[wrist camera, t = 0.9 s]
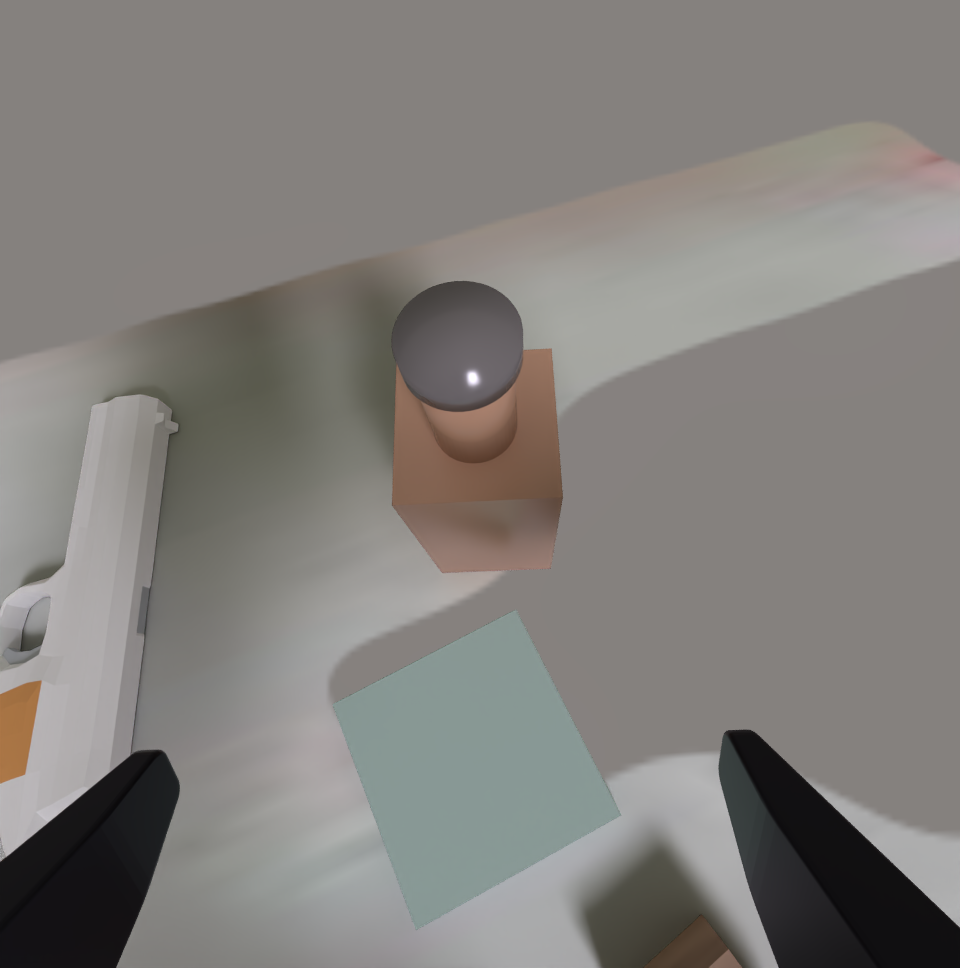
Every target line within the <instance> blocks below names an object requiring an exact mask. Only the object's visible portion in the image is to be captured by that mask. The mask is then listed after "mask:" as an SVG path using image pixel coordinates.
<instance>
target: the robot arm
mask: <svg viewBox="0 0 960 968" xmlns="http://www.w3.org/2000/svg"><path fill="white" fill-rule="evenodd" d="M719 777H720V782H721V786H722V790H723V794H724V797H725V801H726V805H727V808H728V812H729V816H730V820H731V823H732V827H733V831H734V834H735V838H736V842H737V846H738V849H739V853H740V857H741V860H742V864H743V868H744V871H745V875H746V878H747V882H748V885H749V889H750V892H751V895H752V897H753V900H754V903H755V906H756V909H757V911H758V914H759V917H760V919H761V922H762V925H763V927H764V930H765V933H766V935H767V938H768V941H769V943H770V946H771V949H772V951H773V954H774V956H775V959H776V962H777V964H778V967H779V968H960V927H959V926H958V925H957V924H956V923H954V922H953V921H952V920H951V919H950V918H949V917H948V916H947V915H946V914H945V913H944V912H943V911H942V910H941V909H940V908H939V907H938V906H937V905H936V904H935V903H934V902H932V901H931V900H930V899H929V898H928V897H927V896H926V895H925V894H924V893H923V892H922V891H921V890H920V889H919V888H918V887H917V886H916V885H915V884H914V883H913V882H912V881H911V880H909V879H908V878H907V877H906V876H905V875H904V874H903V873H902V872H901V871H900V870H899V869H898V868H897V867H896V866H895V865H894V864H893V863H892V862H891V861H890V860H889V859H887V858H886V857H885V856H884V855H883V854H882V853H881V852H880V851H879V850H878V849H877V848H876V847H875V846H874V845H873V844H872V843H871V842H870V841H869V840H868V839H867V838H866V837H864V836H863V835H862V834H861V833H860V832H859V831H858V830H857V829H856V828H855V827H854V826H853V825H852V824H851V823H850V822H849V821H848V820H847V819H846V818H845V817H844V816H842V815H841V814H840V813H839V812H838V811H837V810H836V809H835V808H834V807H833V806H832V805H831V804H830V803H829V802H828V801H827V800H826V799H825V798H824V797H823V796H822V795H821V794H819V793H818V792H817V791H816V790H815V789H814V788H813V787H812V786H811V785H810V784H809V783H808V782H807V781H806V780H805V779H804V778H803V777H802V776H801V775H800V774H799V773H797V772H796V771H795V770H794V769H793V768H792V767H791V766H790V765H789V764H788V763H787V762H786V761H785V760H784V759H783V758H782V757H781V756H780V755H779V754H778V753H777V752H776V751H774V750H773V749H772V748H771V747H770V746H769V745H768V744H767V743H766V742H765V741H764V740H763V739H762V738H761V737H760V736H759V735H757V734H756V733H755V732H753V731H751V730H728V731H726V732H725V733H724V735H723V739H722V746H721V753H720V759H719ZM179 792H180V785H179V780H178V778H177V776H176V774H175V772H174V769H173V767H172V765H171V763H170V761H169V759H168V757H167V755H166V753H165V752H163V751H162V750H141V751H137V752H135V753H133V754H132V755H130V756H129V757H128V758H126V759H125V760H124V761H123V762H122V763H120V764H119V765H118V766H117V767H115V768H114V769H113V770H112V771H111V772H109V773H108V774H107V775H106V776H104V777H103V778H102V779H101V780H100V781H98V782H97V783H96V784H95V785H93V786H92V787H91V788H90V789H89V790H87V791H86V792H85V793H84V794H82V795H81V796H80V797H79V798H78V799H76V800H75V801H74V802H73V803H71V804H70V805H69V806H68V807H67V808H65V809H64V810H63V811H62V812H60V813H59V814H58V815H57V816H56V817H54V818H53V819H52V820H51V821H49V822H48V823H47V824H46V825H45V826H43V827H42V828H41V829H40V830H38V831H37V832H36V833H35V834H34V835H32V836H31V837H30V838H29V839H27V840H26V841H25V842H24V843H23V844H21V845H20V846H19V847H18V848H16V849H15V850H14V851H13V852H12V853H10V854H9V855H8V856H7V857H6V858H4V859H3V860H2V861H1V862H0V968H116V966H117V964H118V962H119V959H120V957H121V955H122V952H123V950H124V948H125V945H126V943H127V941H128V938H129V936H130V934H131V931H132V929H133V927H134V924H135V922H136V920H137V917H138V915H139V912H140V910H141V907H142V905H143V902H144V900H145V897H146V894H147V892H148V889H149V886H150V883H151V880H152V877H153V874H154V871H155V868H156V865H157V862H158V859H159V856H160V853H161V850H162V847H163V843H164V840H165V837H166V834H167V831H168V828H169V825H170V822H171V819H172V816H173V813H174V810H175V807H176V804H177V801H178V797H179Z"/></svg>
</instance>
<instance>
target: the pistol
mask: <svg viewBox="0 0 960 968" xmlns="http://www.w3.org/2000/svg"><path fill="white" fill-rule="evenodd" d="M171 416H172V409H170V408H169V407H168V406H167V405H165V404H164V403H163V402H162V401H160V400H159V399H157V398H153V397H150V396H147V395H141V394H138V395H129V396H120V397H115V398H114V399H112V400H111V401H109V402H105V403H99V404H95V405H92V409H91V415H90V422H89V427H88V433H87V439H86V444H85V450H84V456H83V461H82V467H81V473H80V478H79V484H78V490H77V495H76V501H75V507H74V512H73V518H72V524H71V529H70V535H69V541H68V546H67V552H66V558H65V563H64V565H63V566H62V567H61V568H60V569H59V570H58V571H57V572H56V573H55V574H54V575H53V576H52V577H50V578H46V579H43V580H39V581H36V582H33V583H29V584H26V585H24V586H22V587H20V588H19V589H17V590H16V591H14V592H13V593H11V594H10V595H9V596H8V597H6V598H5V600H4V602H3V605H2V607H1V610H0V838H1V842H2V846H3V850H4V853H5V857H7V856H8V855H9V854H10V853H12V852H13V851H14V850H15V849H16V848H18V847H19V846H20V845H21V844H23V843H24V842H25V841H26V840H27V839H29V838H30V837H31V836H32V835H34V834H35V833H36V832H37V831H38V830H40V829H41V828H42V827H43V826H45V825H46V824H47V823H48V822H49V821H51V820H52V819H53V818H54V817H56V816H57V815H58V814H59V813H60V812H62V811H63V810H64V809H65V808H67V807H68V806H69V805H70V804H71V803H73V802H74V801H75V800H76V799H78V798H79V797H80V796H81V795H82V794H84V793H85V792H86V791H87V790H89V789H90V788H91V787H92V786H93V785H95V784H96V783H97V782H98V781H100V780H101V779H102V778H103V777H104V776H106V775H107V774H108V773H109V772H111V771H112V770H113V769H114V768H115V767H117V766H118V765H119V764H120V763H122V762H123V761H124V760H125V759H126V758H128V757H129V756H130V753H131V745H132V737H133V728H134V720H135V712H136V704H137V696H138V687H139V679H140V671H141V663H142V654H143V646H144V638H145V636H144V631H145V622H146V614H147V606H148V598H149V590H150V586H151V580H152V572H153V564H154V556H155V547H156V539H157V531H158V523H159V514H160V506H161V498H162V490H163V482H164V473H165V465H166V457H167V449H168V440H169V434H172V433H175V432H178V424H177V423H175V422H172V421H171ZM43 597H51V604H50V611H49V618H48V623H47V629H46V634H45V637H44V640H43V643H42V645H40V646H38V647H36V648H34V649H33V650H31V651H23V652H21V651H20V648H21V638H22V629H23V627H24V624H25V621H26V618H27V615H28V612H29V609H30V608H31V607H32V606H33V605H34V604H35V603H36V602H37V601H39V600H40V599H41V598H43Z"/></svg>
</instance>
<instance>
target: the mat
mask: <svg viewBox="0 0 960 968" xmlns="http://www.w3.org/2000/svg"><path fill="white" fill-rule="evenodd" d="M333 707H334V710H335V712H336V715H337V718H338V721H339V723H340V726H341V729H342V731H343V734H344V737H345V739H346V742H347V745H348V748H349V750H350V753H351V756H352V758H353V761H354V764H355V766H356V769H357V772H358V775H359V777H360V780H361V783H362V785H363V788H364V791H365V793H366V796H367V799H368V802H369V804H370V807H371V810H372V812H373V815H374V818H375V820H376V823H377V826H378V829H379V831H380V834H381V837H382V839H383V842H384V845H385V847H386V850H387V853H388V856H389V858H390V861H391V864H392V866H393V869H394V872H395V874H396V877H397V880H398V883H399V885H400V888H401V891H402V893H403V896H404V899H405V901H406V904H407V907H408V910H409V912H410V915H411V918H412V920H413V923H414V926H415V928H416V930H417V929H419V928H421V927H423V926H424V925H426V924H428V923H430V922H432V921H433V920H435V919H437V918H439V917H440V916H442V915H444V914H446V913H448V912H449V911H451V910H453V909H455V908H456V907H458V906H460V905H462V904H464V903H465V902H467V901H469V900H471V899H473V898H474V897H476V896H478V895H480V894H481V893H483V892H485V891H487V890H489V889H490V888H492V887H494V886H496V885H498V884H499V883H501V882H503V881H505V880H506V879H508V878H510V877H512V876H514V875H515V874H517V873H519V872H521V871H523V870H524V869H526V868H528V867H530V866H531V865H533V864H535V863H537V862H539V861H540V860H542V859H544V858H546V857H547V856H549V855H551V854H553V853H555V852H556V851H558V850H560V849H562V848H564V847H565V846H567V845H569V844H571V843H572V842H574V841H576V840H578V839H580V838H581V837H583V836H585V835H587V834H589V833H590V832H592V831H594V830H596V829H597V828H599V827H601V826H603V825H605V824H606V823H608V822H610V821H612V820H613V819H615V818H617V817H619V816H621V813H620V812H619V810H618V808H617V806H616V804H615V802H614V800H613V798H612V796H611V794H610V792H609V790H608V788H607V786H606V784H605V782H604V780H603V778H602V777H601V774H600V773H599V771H598V769H597V767H596V765H595V763H594V761H593V759H592V757H591V755H590V753H589V751H588V749H587V747H586V745H585V743H584V741H583V739H582V737H581V735H580V733H579V732H578V730H577V728H576V726H575V724H574V722H573V720H572V718H571V716H570V714H569V712H568V710H567V708H566V706H565V704H564V702H563V700H562V698H561V696H560V694H559V692H558V690H557V689H556V687H555V685H554V683H553V681H552V679H551V677H550V675H549V673H548V671H547V669H546V667H545V665H544V663H543V661H542V659H541V657H540V655H539V653H538V652H537V649H536V647H535V646H534V644H533V642H532V640H531V638H530V636H529V634H528V632H527V630H526V628H525V626H524V624H523V622H522V620H521V618H520V616H519V614H518V612H517V610H514V611H512V612H510V613H508V614H506V615H504V616H502V617H500V618H498V619H496V620H495V621H492V622H491V623H489V624H487V625H485V626H483V627H481V628H479V629H477V630H475V631H473V632H471V633H469V634H467V635H465V636H464V637H462V638H460V639H458V640H456V641H454V642H452V643H450V644H448V645H446V646H444V647H442V648H441V649H438V650H437V651H435V652H433V653H431V654H429V655H427V656H425V657H423V658H421V659H419V660H417V661H415V662H413V663H411V664H409V665H408V666H406V667H404V668H402V669H400V670H398V671H396V672H394V673H393V674H390V675H389V676H386V677H384V678H382V679H381V680H379V681H377V682H375V683H373V684H371V685H369V686H367V687H365V688H363V689H361V690H359V691H357V692H356V693H354V694H352V695H350V696H348V697H346V698H344V699H342V700H340V701H338V702H336V703H334V704H333Z"/></svg>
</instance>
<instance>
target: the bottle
mask: <svg viewBox="0 0 960 968" xmlns="http://www.w3.org/2000/svg"><path fill="white" fill-rule="evenodd" d="M392 351H393V355H394V358H395V360H396V393H395V426H394V460H393V493H392V506H393V507H394V509H395V510H396V511H397V513H398V514H399V515H400V517H401V518H402V519H403V521H404V522H405V523H406V525H407V526H408V528H409V529H410V530H411V532H412V533H413V534H414V536H415V537H416V538H417V540H418V541H419V542H420V544H421V545H422V546H423V548H424V549H425V550H426V552H427V553H428V554H429V556H430V557H431V558H432V560H433V561H434V563H435V564H436V565H437V567H438V568H439V569H440V571H441V572H442V573H451V572H476V571H502V570H527V569H550V568H551V563H552V557H553V552H554V546H555V540H556V534H557V528H558V523H559V517H560V511H561V505H562V499H563V493H562V480H561V468H560V467H561V466H560V453H559V441H558V427H557V414H556V401H555V388H554V375H553V362H552V349H536V350H523V328H522V322H521V319H520V316H519V314H518V312H517V310H516V308H515V307H514V305H513V304H512V303H511V301H510V300H509V299H508V298H507V297H505V296H504V295H503V294H502V293H500V292H499V291H497V290H496V289H494V288H492V287H489V286H487V285H484V284H481V283H476V282H470V281H454V282H447V283H443V284H439V285H436V286H433V287H431V288H429V289H427V290H425V291H423V292H421V293H420V294H418V295H417V296H416V297H414V298H413V299H412V300H411V301H410V302H409V303H408V304H407V305H406V306H405V307H404V308H403V310H402V311H401V313H400V314H399V316H398V318H397V320H396V322H395V325H394V328H393V332H392Z"/></svg>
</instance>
